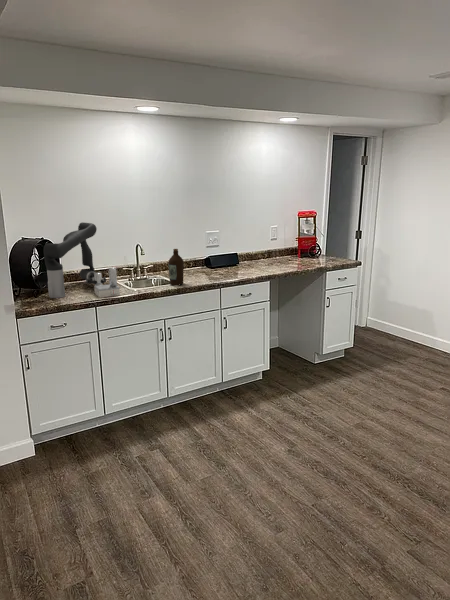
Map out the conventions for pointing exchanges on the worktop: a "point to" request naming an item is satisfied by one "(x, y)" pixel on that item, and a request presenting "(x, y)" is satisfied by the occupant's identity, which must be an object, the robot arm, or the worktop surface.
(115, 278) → the spacer on scale
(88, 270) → the robot arm
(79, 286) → the worktop surface
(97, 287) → the scale
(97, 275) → the spacer
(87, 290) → the worktop surface
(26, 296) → the worktop surface
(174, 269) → the olive oil
